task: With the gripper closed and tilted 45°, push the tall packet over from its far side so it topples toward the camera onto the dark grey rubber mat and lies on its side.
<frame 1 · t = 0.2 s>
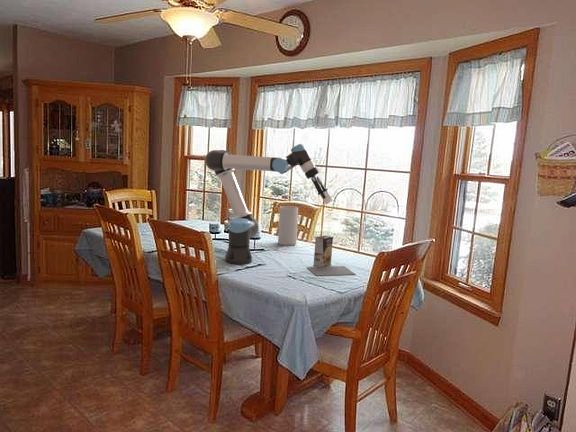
hand: (329, 202, 247), 35 cm above the table, tool tilted 35°, fingers open, 13 cm apart
coffee box: (322, 265, 251), on the table
cylinder vase: (287, 244, 301), on the table
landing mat: (330, 271, 239), on the table
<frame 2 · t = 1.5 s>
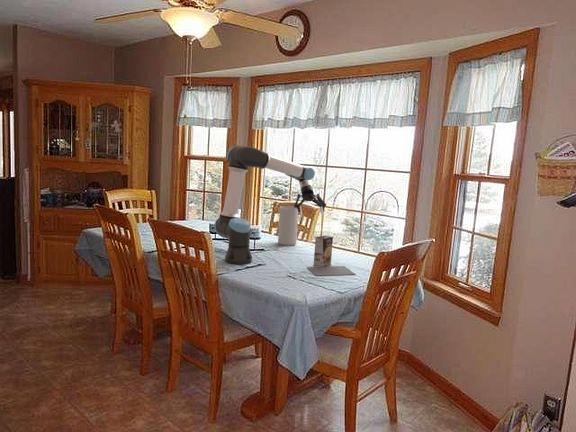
hand: (312, 216, 269), 24 cm above the table, tool tilted 45°, fingers open, 13 cm apart
nothing on the table moved.
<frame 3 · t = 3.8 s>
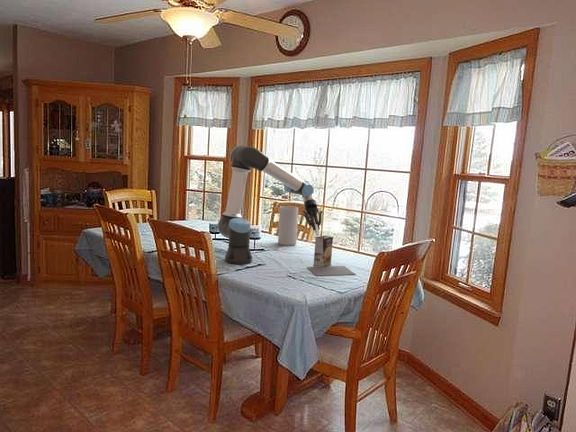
hand: (317, 234, 262), 15 cm above the table, tool tilted 45°, fingers closed
nothing on the table moved.
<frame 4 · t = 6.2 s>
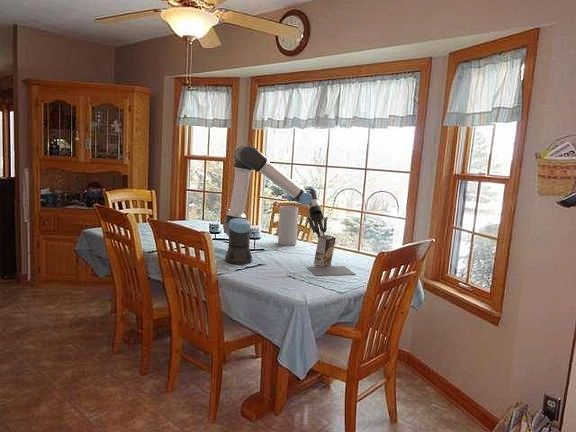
hand: (322, 242, 254), 12 cm above the table, tool tilted 45°, fingers closed
coffee box: (322, 264, 251), on the table, touching gripper
everything else where it was.
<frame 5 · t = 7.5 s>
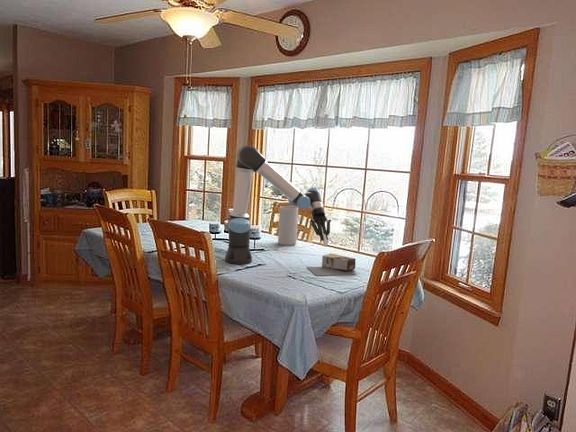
hand: (325, 245, 247), 12 cm above the table, tool tilted 45°, fingers closed
coffee box: (326, 259, 249), point 4 cm above the table, touching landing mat
everything else where it was.
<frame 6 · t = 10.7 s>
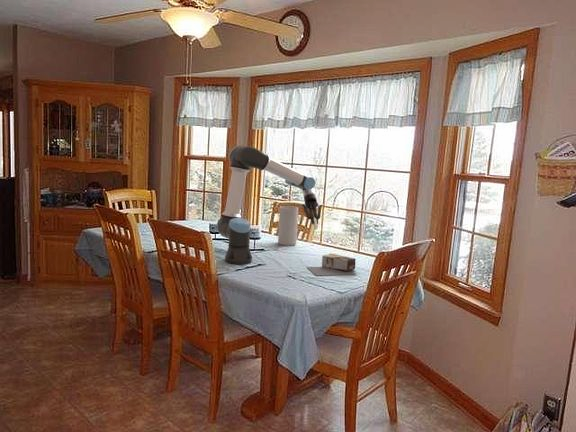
hand: (316, 228, 264), 18 cm above the table, tool tilted 45°, fingers closed
nothing on the table moved.
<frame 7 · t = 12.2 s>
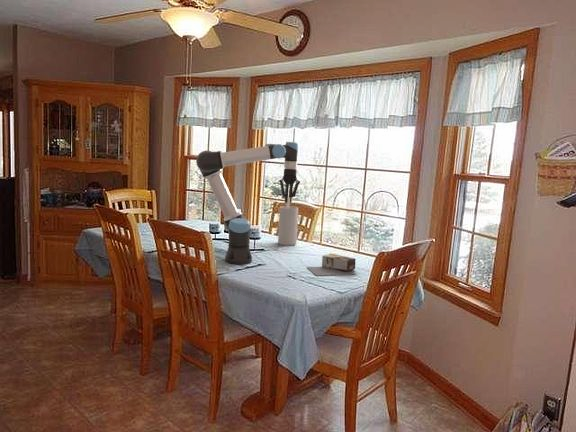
hand: (287, 208, 264), 29 cm above the table, tool pointing down, fingers closed
nothing on the table moved.
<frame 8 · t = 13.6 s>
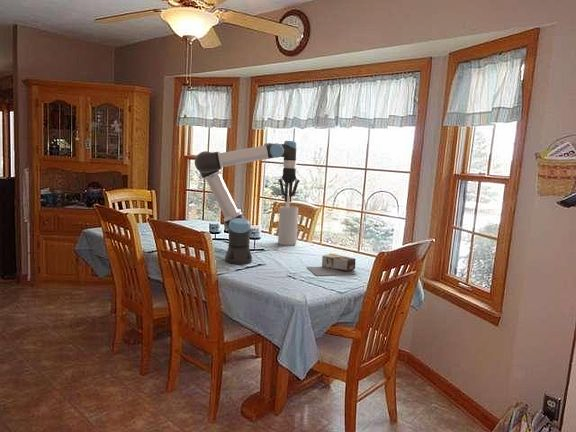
hand: (287, 207, 263), 29 cm above the table, tool pointing down, fingers closed
nothing on the table moved.
at the end: coffee box tilted 90°; coffee box touching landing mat; coffee box inside the target area (5.8 cm from its centre), point 3.6 cm above the table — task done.
